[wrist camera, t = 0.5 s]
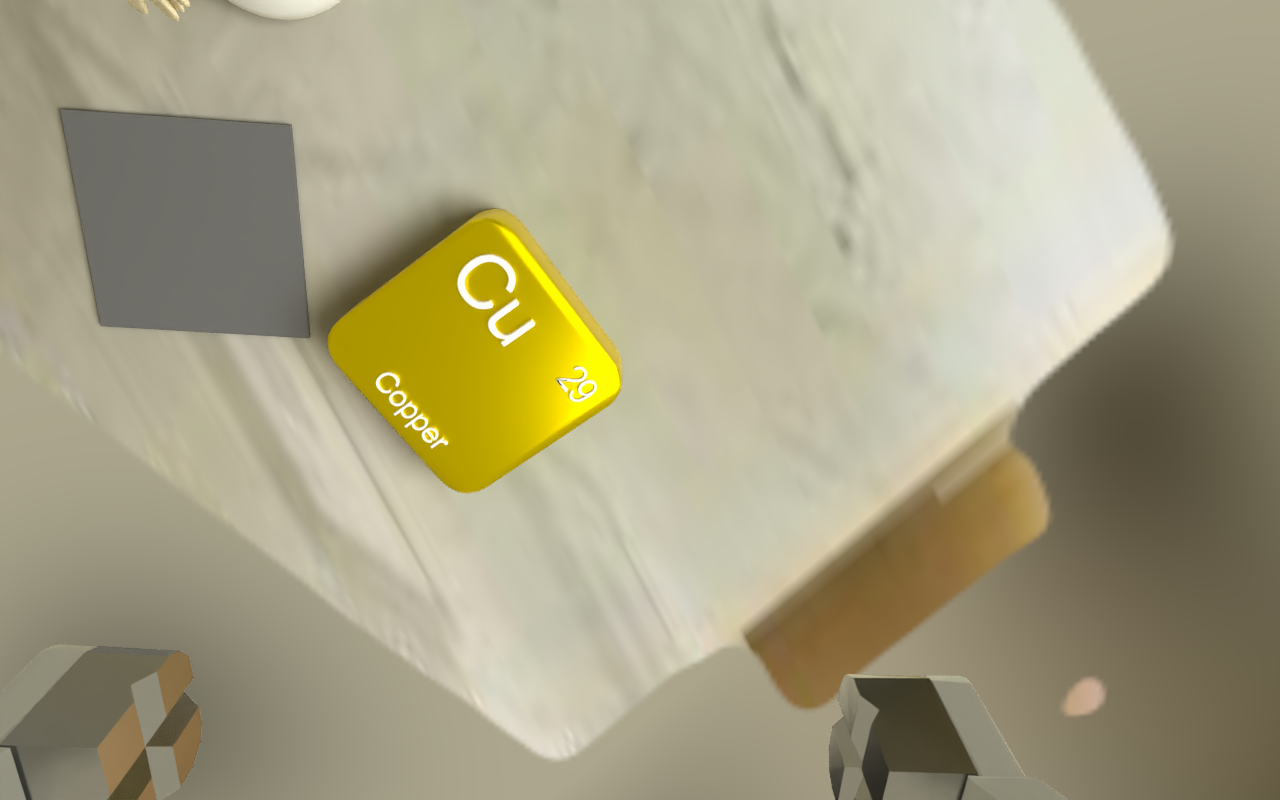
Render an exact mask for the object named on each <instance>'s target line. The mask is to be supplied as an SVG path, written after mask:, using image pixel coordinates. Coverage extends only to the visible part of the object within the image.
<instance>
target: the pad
mask: <svg viewBox="0 0 1280 800" xmlns="http://www.w3.org/2000/svg"><path fill="white" fill-rule="evenodd" d="M60 111H61V117H62V122H63V127H64V133H65V138H66V143H67V149H68V154H69V159H70V165H71V170H72V175H73V181H74V186H75V191H76V197H77V202H78V207H79V213H80V218H81V223H82V229H83V234H84V239H85V245H86V250H87V255H88V261H89V266H90V271H91V277H92V282H93V287H94V293H95V298H96V303H97V309H98V314H99V319H100V325H101V326H108V327H125V328H142V329H159V330H176V331H193V332H210V333H228V334H245V335H262V336H279V337H296V338H310V328H309V317H308V305H307V294H306V283H305V271H304V260H303V248H302V237H301V225H300V214H299V202H298V191H297V179H296V168H295V156H294V145H293V134H292V125H285V124H270V123H256V122H242V121H227V120H213V119H199V118H185V117H170V116H156V115H142V114H127V113H113V112H99V111H85V110H70V109H60Z"/></svg>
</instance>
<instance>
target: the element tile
mask: <svg viewBox="0 0 1280 800" xmlns="http://www.w3.org/2000/svg"><path fill="white" fill-rule="evenodd" d="M327 347H328V350H329V353H330V355H331V358H332V359H333V361H334V362H335V364H336V365H337V366H338V367H339V369H340V370H341V371H342V372H343V373H344V374H345V375H346V376H347V377H348V378H349V380H350V381H351V382H352V383H353V384H354V385H355V386H356V387H357V388H358V390H359V391H360V392H361V393H362V394H363V395H364V396H365V397H366V398H367V399H368V401H369V402H370V403H371V404H372V405H373V406H374V407H375V408H376V409H377V411H378V412H379V413H380V414H381V415H382V416H383V417H384V418H385V419H386V420H387V422H388V423H389V424H390V425H391V426H392V427H393V428H394V429H395V430H396V432H397V433H398V434H399V435H400V436H401V437H402V438H403V439H404V440H405V441H406V443H407V444H408V445H409V446H410V447H411V448H412V449H413V450H414V451H415V453H416V454H417V455H418V456H419V457H420V458H421V459H422V460H423V461H424V462H425V464H426V465H427V466H428V467H429V468H430V469H431V470H432V471H433V472H434V474H435V475H436V476H437V477H438V478H439V479H440V480H441V481H442V482H443V483H444V484H445V485H446V486H448V487H449V488H451V489H453V490H455V491H457V492H461V493H472V492H477V491H480V490H482V489H484V488H486V487H488V486H489V485H491V484H492V483H494V482H495V481H497V480H498V479H500V478H501V477H503V476H504V475H506V474H507V473H509V472H510V471H512V470H513V469H515V468H516V467H518V466H519V465H521V464H522V463H524V462H525V461H527V460H528V459H530V458H531V457H533V456H534V455H536V454H537V453H539V452H540V451H542V450H543V449H545V448H546V447H548V446H549V445H551V444H552V443H554V442H555V441H557V440H558V439H560V438H561V437H563V436H564V435H566V434H567V433H569V432H570V431H572V430H573V429H575V428H576V427H578V426H579V425H581V424H582V423H584V422H585V421H587V420H588V419H590V418H591V417H593V416H594V415H596V414H597V413H599V412H600V411H602V410H603V409H605V408H606V407H608V406H609V405H610V404H611V403H612V402H613V401H614V400H615V399H616V397H617V396H618V394H619V393H620V391H621V385H622V362H621V358H620V354H619V352H618V350H617V348H616V347H615V345H614V344H613V343H612V341H611V340H610V339H609V337H608V336H607V335H606V333H605V332H604V331H603V329H602V328H601V327H600V325H599V324H598V323H597V321H596V320H595V319H594V317H593V316H592V315H591V313H590V312H589V311H588V310H587V308H586V307H585V306H584V304H583V303H582V302H581V300H580V299H579V298H578V296H577V295H576V294H575V292H574V291H573V290H572V288H571V287H570V286H569V284H568V283H567V282H566V280H565V279H564V278H563V276H562V275H561V274H560V272H559V271H558V270H557V268H556V267H555V266H554V265H553V263H552V262H551V261H550V259H549V258H548V257H547V255H546V254H545V253H544V251H543V250H542V249H541V247H540V246H539V245H538V243H537V242H536V241H535V239H534V238H533V237H532V235H531V234H530V233H529V231H528V230H527V229H526V227H525V226H524V225H523V224H522V223H521V222H520V221H519V220H518V219H517V218H516V217H515V216H514V215H512V214H511V213H509V212H507V211H506V210H501V209H495V208H494V209H489V210H485V211H482V212H480V213H477V214H476V215H475V216H473V217H472V218H471V219H469V220H468V221H467V222H465V223H464V224H463V225H461V226H460V227H459V228H457V229H456V230H455V231H453V232H452V233H451V234H449V235H448V236H447V237H446V238H444V239H443V240H442V241H440V242H439V243H438V244H436V245H435V246H434V247H432V248H431V249H430V250H428V251H427V252H426V253H424V254H423V255H422V256H420V257H419V258H418V259H416V260H415V261H414V262H412V263H411V264H410V265H408V266H407V267H406V268H404V269H403V270H402V271H400V272H399V273H398V274H397V275H395V276H394V277H393V278H391V279H390V280H389V281H387V282H386V283H385V284H383V285H382V286H381V287H379V288H378V289H377V290H375V291H374V292H373V293H371V294H370V295H369V296H367V297H366V298H365V299H363V300H362V301H361V302H359V303H358V304H357V305H355V306H354V307H353V308H352V309H351V310H350V311H348V312H347V313H346V314H345V315H344V316H343V317H341V318H340V319H339V320H338V321H337V322H336V323H335V324H334V325H333V327H332V329H331V331H330V333H329V335H328V341H327Z"/></svg>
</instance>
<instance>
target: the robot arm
mask: <svg viewBox="0 0 1280 800" xmlns="http://www.w3.org/2000/svg"><path fill="white" fill-rule="evenodd" d="M193 678H194V677H193V672H192V668H191V664H190V660H189V656H188V655H186V654H184V653H182V652H180V651H173V650H157V649H139V648H122V647H105V646H98V647H91V646H74V645H54V646H52V647H49V648H46V649H44V650H42V651H41V652H40V653H39V654H38V655H37V656H36V657H35V658H34V659H33V660H32V661H31V662H30V663H29V664H28V665H27V666H26V667H25V668H24V669H23V670H22V671H21V672H20V673H19V674H18V675H17V676H16V677H15V678H14V679H12V680H11V681H10V683H8V685H6V686H5V687H4V688H3V690H2V691H0V800H163V799H165V798H166V797H168V796H169V795H171V794H172V793H173V792H175V791H177V790H178V789H180V788H181V786H182V784H183V783H184V781H185V780H186V778H187V776H188V774H189V773H190V771H191V769H192V768H193V765H194V762H195V759H196V755H197V752H198V749H199V746H200V742H201V727H202V721H201V715H200V709H199V706H198V705H197V704H196V703H195V702H194V701H193V700H192V699H191V698H190V697H189V696H188V695H187V694H186V693H185V692H184V691H185V689H186V687H187V686H188V685H189V684H190V682H191V681H192V679H193ZM838 701H839V704H840V707H841V710H842V713H843V717H842V718H841V719H840V720H839V721H838V722H837V723H836V724H835V725H834V726H832V732H831V738H830V745H829V772H830V778H831V784H832V790H833V793H834V797H835V800H1068V799H1067V798H1065V797H1064V796H1062V795H1061V794H1060V793H1058V792H1057V791H1056V790H1054V789H1052V788H1051V787H1050V786H1048V785H1047V784H1046V783H1044V782H1043V781H1042V780H1040V779H1039V778H1026V776H1025V775H1024V773H1023V771H1022V770H1021V768H1020V766H1019V764H1018V763H1017V761H1016V759H1015V757H1014V756H1013V754H1012V752H1011V751H1010V749H1009V747H1008V745H1007V744H1006V742H1005V740H1004V739H1003V737H1002V735H1001V733H1000V732H999V730H998V728H997V727H996V725H995V723H994V721H993V720H992V718H991V716H990V715H989V713H988V711H987V709H986V708H985V706H984V704H983V703H982V701H981V699H980V697H979V696H978V694H977V692H976V691H975V689H974V687H973V685H972V684H971V682H970V681H969V680H968V679H966V678H965V677H963V676H923V677H921V676H891V675H857V674H846V675H845V677H844V678H843V680H842V682H841V686H840V690H839V695H838Z"/></svg>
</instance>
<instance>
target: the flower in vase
mask: <svg viewBox="0 0 1280 800" xmlns="http://www.w3.org/2000/svg"><path fill="white" fill-rule="evenodd" d="M126 1H127V2H128V3H129V4H130V5H131V6H132V7H134V8H135V9H136V10H138V11H139V12H141V13H143V14H147V13H148V8H147V5H146V3H145V1H144V0H126ZM151 1H152V2H153V3H154V4H155V5H156V6H157V7H158V8H159V9H160V10H161V11H162V12H163V13H165V14H166V15H167V16H168V17H170V18H171V19H173V20H175V21H178V20H179V17H178V14H177V13H176V11H175V9H176V10H178V11H179V12H183V13H184V7H183V6H185V7H190V3H189V1H188V0H151ZM228 1H229V2H231V3H233V4H234V5H236V6H238V7H239V8H241V9H243V10H246V11H248V12H250V13H252V14H255V15H259V16H262V17H265V18H271V19H277V20H296V19H304V18H308V17H312V16H315V15H318V14H320V13H322V12H324V11H327V10H328V9H330V8H331V7H333V6H335V5H336V4H338V3H339V2H340V1H341V0H228ZM174 8H175V9H174Z"/></svg>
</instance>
